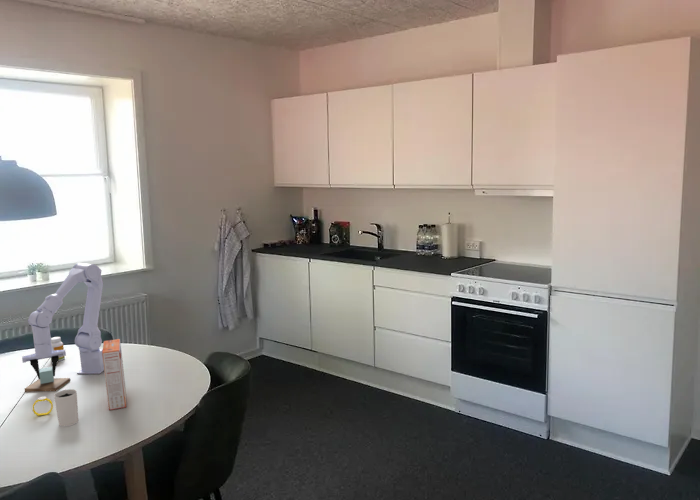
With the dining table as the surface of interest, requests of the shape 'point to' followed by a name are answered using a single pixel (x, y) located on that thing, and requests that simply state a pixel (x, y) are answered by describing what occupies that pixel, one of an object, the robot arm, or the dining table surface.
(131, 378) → the dining table surface
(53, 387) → the walnut board
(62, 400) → the white cup
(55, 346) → the supplement bottle
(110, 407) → the cracker box
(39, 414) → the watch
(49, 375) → the teal cube
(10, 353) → the dining table surface
